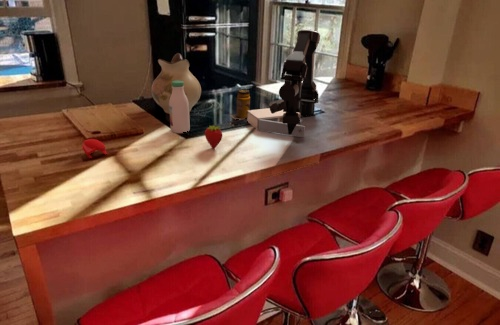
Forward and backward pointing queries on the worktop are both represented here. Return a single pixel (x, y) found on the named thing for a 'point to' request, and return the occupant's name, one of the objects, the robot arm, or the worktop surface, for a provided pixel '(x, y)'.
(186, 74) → the pitcher
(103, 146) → the cap
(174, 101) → the milk bottle
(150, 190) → the worktop surface
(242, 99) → the condiment
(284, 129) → the door
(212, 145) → the strawberry
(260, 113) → the cabinet
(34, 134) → the worktop surface
